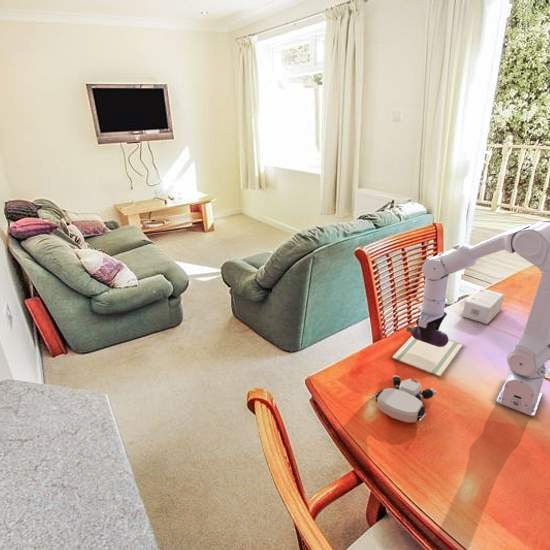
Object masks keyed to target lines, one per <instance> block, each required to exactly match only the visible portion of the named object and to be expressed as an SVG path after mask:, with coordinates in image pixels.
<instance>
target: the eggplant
mask: <svg viewBox="0 0 550 550" xmlns="http://www.w3.org/2000/svg"><path fill="white" fill-rule="evenodd" d="M406 332H408V333H410V334H411V337H412V336H413V337H414V338H415V339H417V340H419V341H422V339H421V333H420V330H419V327H418V325H417V324H415V325H413V326H410V325H408V326H407V327H406ZM448 341H449V336H448V335H447V333H446V332H444V331H442V330H440V329H439V330H436V329H435V330H434V332H433V335H432V338H431V341H430V342H429V343H428V344H431V345H434V346H437V347H444V346H445V345H447V343H448ZM422 342H423V341H422ZM425 343H426V342H425Z"/></svg>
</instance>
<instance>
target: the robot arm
mask: <svg viewBox="0 0 550 550" xmlns="http://www.w3.org/2000/svg"><path fill="white" fill-rule="evenodd" d="M504 250H505V251H506V252H507V253H509V254H514V253H516V254H517V255H518V256H520V258H523V259H524V260H525V261H527V262H528V263H530V264H532V265H533V266H534V267H536V268H537V269H538V270H539V271H540V272H541V276H540V278H539V282H538V285H537V288H536V291H535V294H534V298H533V301H532V304H531V308H530V311H529V313H528V317H527V320H526V323H525V327H524V330H523V333H522V334H521V337H520V338H519V339H518V341H517V343H516V344H515V347H514V349H513V350H512V351H510V352H509V353H508V355H507V358H506V362H507V366H508V369H507V373H506V377H505V381H504V384H503V386H502V388H501V390H500V392H499V394H498V396H497V397H496V403H498V404H499V405H503V406H505V407H507V408H510V409H512V410H515V411H517V412H520V413H523V414H525V415H527V416H530V417H535V416H536V413H537V410H538V407H539V404H540V401H541V400H542V399H541V398H542V394H543V393H542V392H541V390H542V386H543V383H544V379H545V375H546V372H547V371H546V365H545V364H546V363H547V362H548V361H549V360H550V220H549V219H545V220H544V219H543V220H540V221H537V222H536V223H534V224H533V225H532V224H527V225H522V226H520V227H517V228H513V229H510V230H507V231H505V232H503V233H501V234H498V235H496V236H494V237H491V238H489V239H487V240H485V241H482V242H480V243H478V244H475V245H473V246H470V245H468V244H462V245H461V244H460V243H458V244H456V245H454V246H452V249H450V250H448V251H445V252H444V251H440V252H439V253H437V255H435V256H433V257H431V258H428V259H427V260H426V261H424V262H423V263H422V267H421V271H422V274H423V275H424V287H423V294H422V295H423V297H422V305H419V306H418V307H417V310H418V311H420V317H418V318H417V319H416V320H415V321H416V322H415V325H418V327H419V330H420V333H421V339H422V341H423V342H426V343H429V342H430V341H431V338H432V335H433V332H434V330H435V329H436V330H439V331H440V327H441V324H442V323H443V322H444V321H443V320H444V319H445V318H446V317H447V315H448V313H447V312H446V311H445V306H446V296H447V290H448V289H447V288H448V281H449V276H450V274H454V273H458V272H459V271H463V270H465V269H467V268H470V267H473V266H475V265H476V262H477V260H478V259H480V258H484V257H486V256H488V255H492V254H494V253H497V252H501V251H504Z"/></svg>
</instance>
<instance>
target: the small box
mask: <svg viewBox="0 0 550 550" xmlns="http://www.w3.org/2000/svg"><path fill="white" fill-rule="evenodd" d="M504 297H505V294H504V293H500V292H497V291H494V290H489V289H485V288H478V289H477V290H476V291H475V292H474V293H473V294H471V295H470V296H468V298H467V299H466V300H465V301H464V304H463V305H464V306H463V312H462V317H463V318H466V319H468V320H472V321H476V322H479V323H481V324H484V325H488V324H489V323H490V322H491V321H492V320H493V319H494V318H495V317H496V316H497V315H498V314H499V313H500V311H501V310H502V305H503V301H504Z"/></svg>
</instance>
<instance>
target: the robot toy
mask: <svg viewBox="0 0 550 550" xmlns="http://www.w3.org/2000/svg"><path fill="white" fill-rule="evenodd" d="M392 384H393V387H394V388H393V387H386V388H384V389H381V390H379V391H378V392H377V393H375V394H373V396H371V397H369V400H370V401H371V400H373V399H374V398H375V403H376V407H377V408H378V409H379V410H380V411H381V412H382V413H383V414H385V415H387V416H389V417H390V418H392V419H395V420H398V421H400V422H404V423H409V424H410V423H416V422H417V421H418V422H422V420H423V419H424V418H426V416H427V413H426V407H425V406H424V403H423V402H422V399H424V400H428V399H431V398H433V396H435V395H436V394H437V390H435V389H434V388H426V389H424V390H422V386H421V382H419V381H417V380H414V379H412V378H408V379H404V380H402V381H401V378H400V376H399V375H392Z"/></svg>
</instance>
